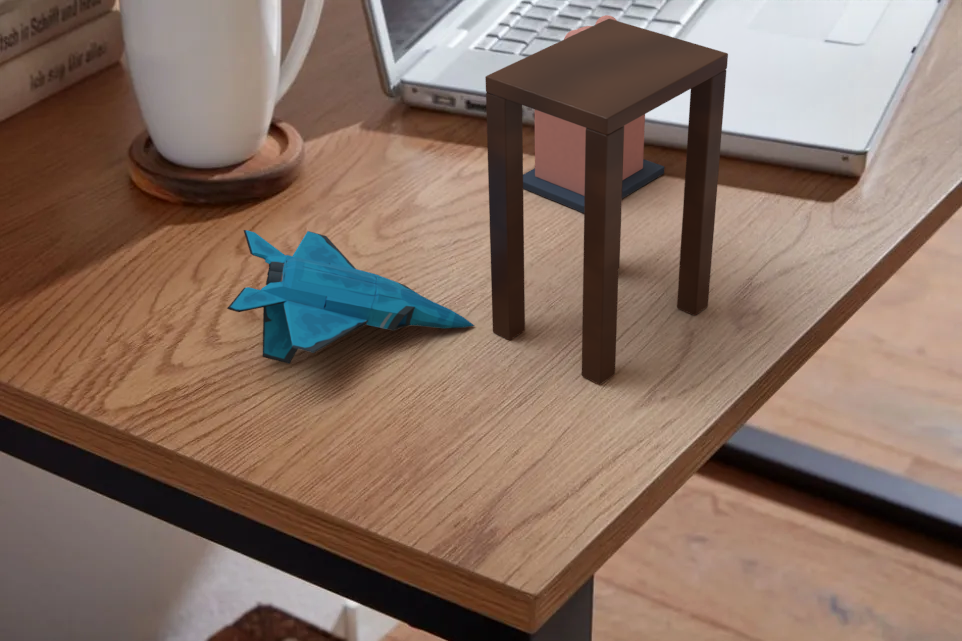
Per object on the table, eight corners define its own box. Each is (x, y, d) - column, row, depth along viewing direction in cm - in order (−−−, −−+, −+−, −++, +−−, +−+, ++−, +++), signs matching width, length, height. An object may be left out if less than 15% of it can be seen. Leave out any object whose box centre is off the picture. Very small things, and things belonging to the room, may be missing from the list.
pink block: (644, 169, 81) (651, 19, 76) (592, 199, 78) (595, 46, 73) (586, 147, 84) (589, 2, 78) (534, 176, 81) (533, 27, 75)
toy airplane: (277, 415, 63) (267, 343, 60) (183, 322, 69) (171, 253, 67) (475, 328, 69) (474, 259, 66) (371, 250, 75) (367, 184, 73)
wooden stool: (708, 306, 69) (728, 53, 62) (600, 385, 64) (607, 118, 56) (602, 261, 73) (608, 17, 66) (492, 332, 68) (484, 75, 60)
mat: (664, 173, 82) (664, 166, 81) (592, 217, 78) (592, 209, 77) (588, 145, 85) (588, 138, 85) (515, 185, 81) (515, 178, 81)
